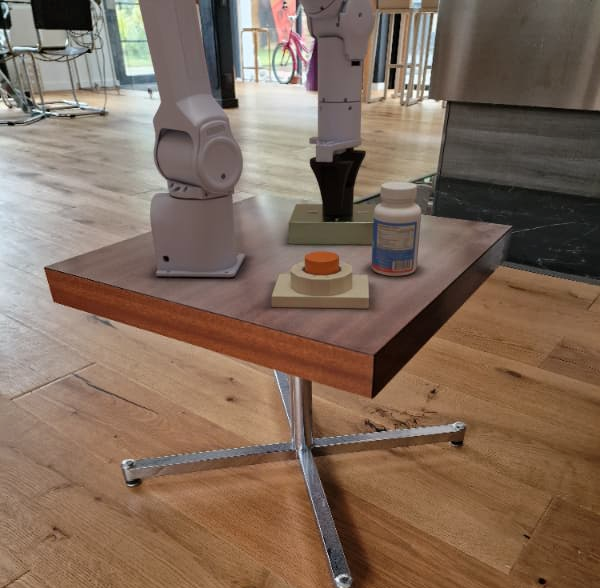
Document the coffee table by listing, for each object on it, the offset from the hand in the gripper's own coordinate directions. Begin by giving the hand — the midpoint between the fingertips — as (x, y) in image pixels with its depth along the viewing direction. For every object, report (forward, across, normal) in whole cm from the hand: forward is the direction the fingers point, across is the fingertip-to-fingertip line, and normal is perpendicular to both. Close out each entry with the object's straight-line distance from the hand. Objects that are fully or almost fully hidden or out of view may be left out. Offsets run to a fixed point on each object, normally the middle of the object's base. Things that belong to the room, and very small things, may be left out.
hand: (337, 208), depth 81 cm
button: (+1, +24, +5) cm, 25 cm away
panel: (+3, 0, 0) cm, 3 cm away
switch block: (+3, +24, +5) cm, 25 cm away
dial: (0, 0, 0) cm, 0 cm away
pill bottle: (+4, +14, +11) cm, 18 cm away
